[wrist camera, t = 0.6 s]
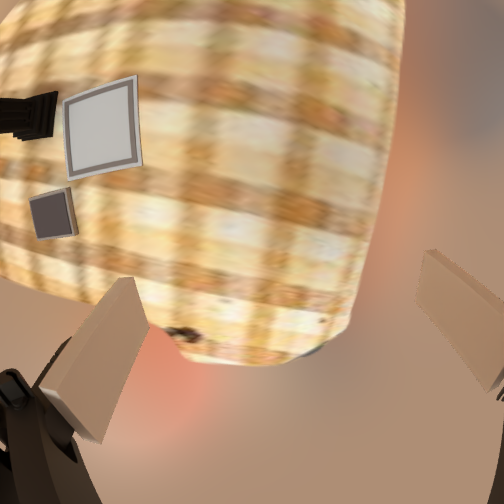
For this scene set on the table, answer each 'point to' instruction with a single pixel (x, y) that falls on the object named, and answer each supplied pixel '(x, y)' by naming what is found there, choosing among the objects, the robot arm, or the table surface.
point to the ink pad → (53, 215)
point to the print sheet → (102, 129)
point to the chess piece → (28, 116)
